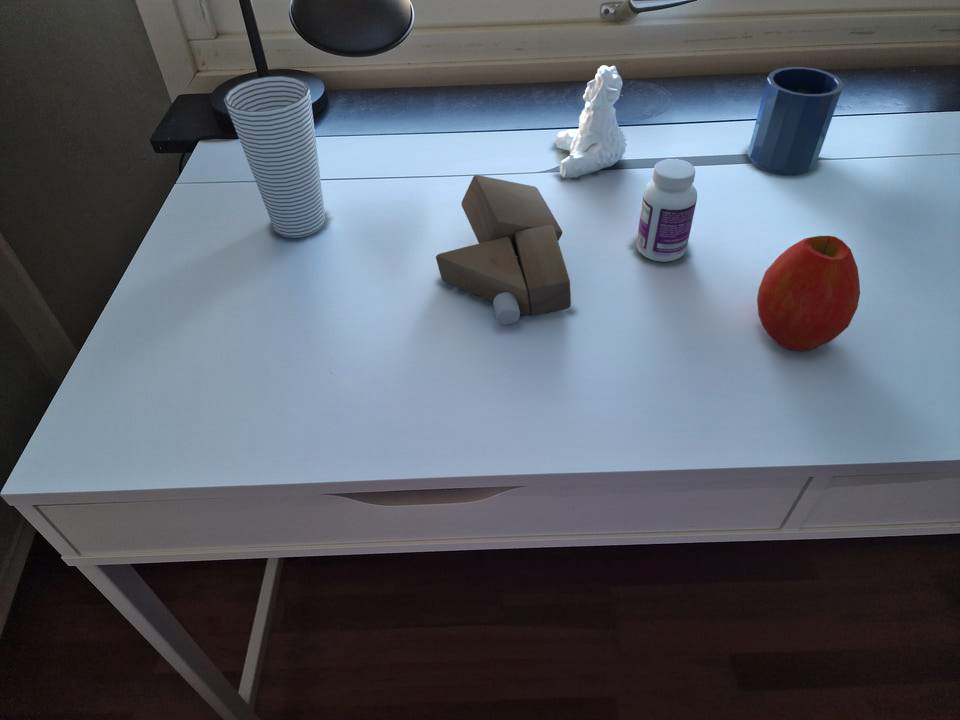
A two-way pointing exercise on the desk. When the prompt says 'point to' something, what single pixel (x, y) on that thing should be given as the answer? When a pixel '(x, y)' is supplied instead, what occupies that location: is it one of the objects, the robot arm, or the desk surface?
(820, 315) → the apple
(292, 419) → the desk surface
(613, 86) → the white creature statuette
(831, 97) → the tube
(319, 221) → the cup
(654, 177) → the pill bottle
